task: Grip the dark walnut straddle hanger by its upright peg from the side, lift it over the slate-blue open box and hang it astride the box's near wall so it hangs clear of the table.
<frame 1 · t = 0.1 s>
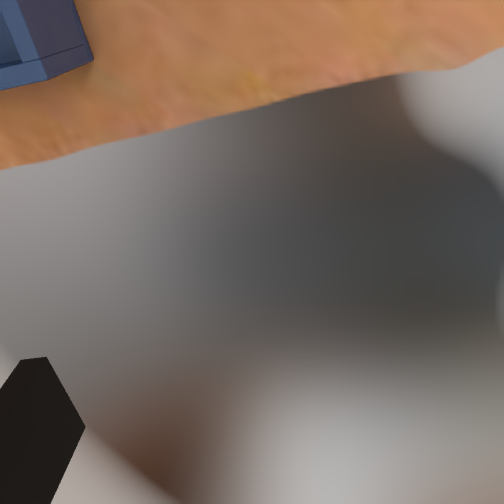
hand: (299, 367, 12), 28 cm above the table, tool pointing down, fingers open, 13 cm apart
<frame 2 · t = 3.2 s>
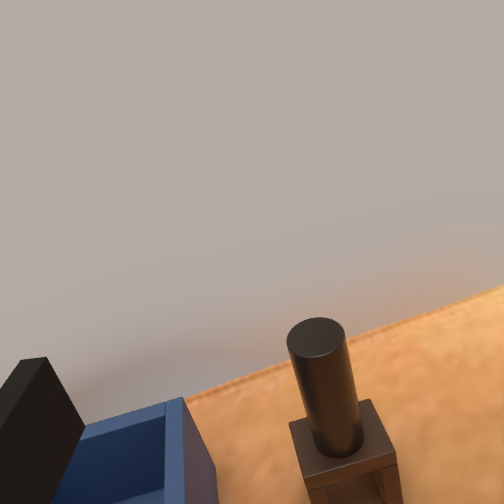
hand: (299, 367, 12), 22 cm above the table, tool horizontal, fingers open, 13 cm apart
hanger: (352, 495, 31), on the table
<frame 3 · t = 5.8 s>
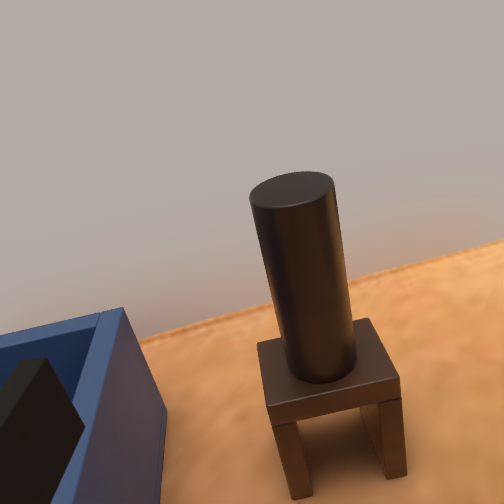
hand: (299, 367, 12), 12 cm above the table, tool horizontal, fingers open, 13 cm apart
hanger: (338, 451, 23), on the table
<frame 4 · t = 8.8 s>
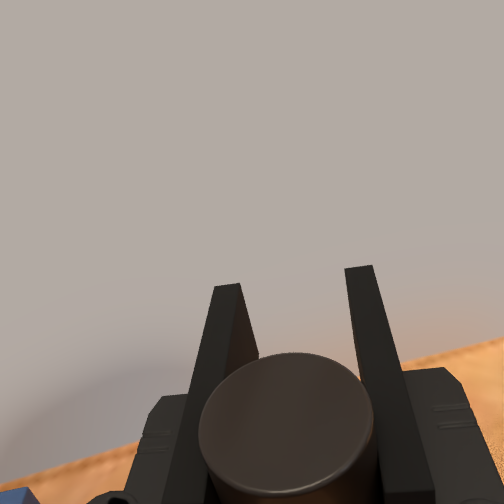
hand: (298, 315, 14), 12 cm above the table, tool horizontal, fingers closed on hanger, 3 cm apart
when the fingers open (15 cm above the table, at t = 14.9 s): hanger stays where it is, resting on bin.
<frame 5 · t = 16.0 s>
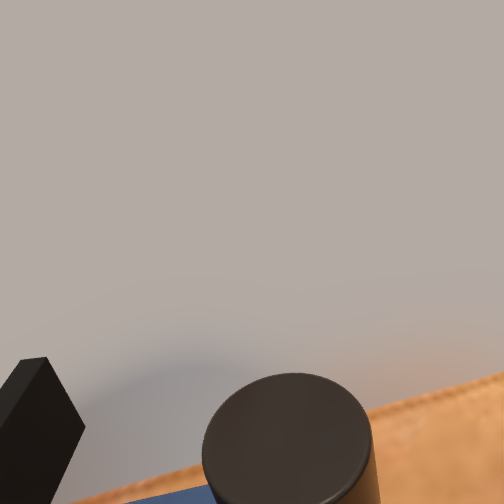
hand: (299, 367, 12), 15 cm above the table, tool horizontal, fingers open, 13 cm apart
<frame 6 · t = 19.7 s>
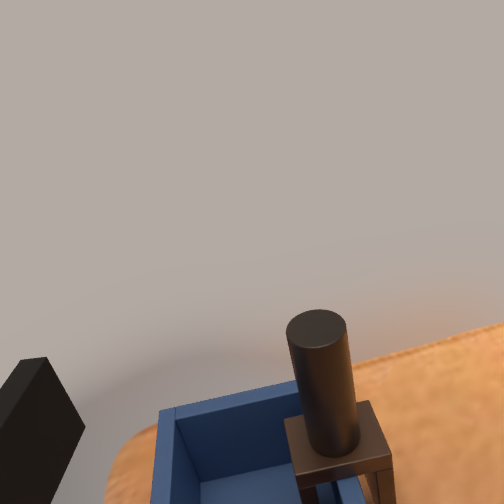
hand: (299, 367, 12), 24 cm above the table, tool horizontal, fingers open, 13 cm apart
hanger: (345, 499, 30), point 3 cm above the table, touching bin
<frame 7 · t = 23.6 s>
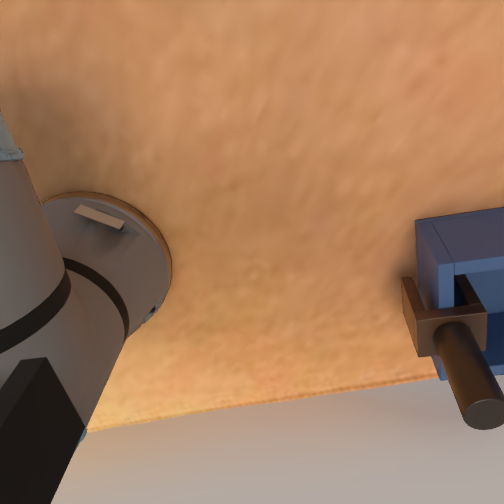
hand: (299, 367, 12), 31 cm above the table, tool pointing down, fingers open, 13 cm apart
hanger: (432, 291, 43), point 3 cm above the table, touching bin
bin: (481, 267, 45), on the table
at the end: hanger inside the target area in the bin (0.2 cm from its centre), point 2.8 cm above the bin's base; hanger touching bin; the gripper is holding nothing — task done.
